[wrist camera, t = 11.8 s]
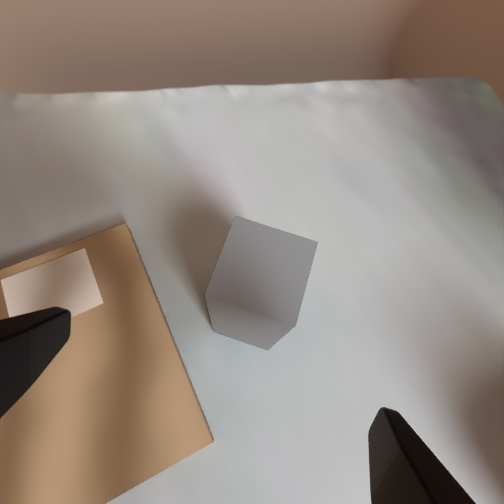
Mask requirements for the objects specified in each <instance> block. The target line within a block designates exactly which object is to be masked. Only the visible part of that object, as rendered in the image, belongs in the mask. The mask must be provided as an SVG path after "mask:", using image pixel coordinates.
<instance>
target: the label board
mask: <svg viewBox="0 0 504 504" xmlns="http://www.w3.org/2000/svg"><path fill="white" fill-rule="evenodd" d="M55 306H57V307H61V308H64V309H68V310H69V311H70V312H71V333H70V337H69V340H68V341H67V343H66V344H65V345H64V347H63V348H62V349H61V350H60V351H59V353H58V354H57V355H56V356H55V358H54V359H53V360H52V361H51V363H50V364H49V365H48V366H47V368H46V369H45V370H44V371H43V373H42V374H41V375H40V376H39V378H38V379H37V380H36V381H35V383H34V384H33V385H32V386H31V387H30V388H29V389H28V390H27V392H26V393H25V394H24V395H23V396H22V397H21V398H20V399H19V400H18V401H17V402H16V403H15V404H14V405H13V406H12V407H11V408H10V409H9V410H8V411H7V412H6V413H5V414H4V415H3V416H2V418H1V419H0V504H105V503H107V502H109V501H111V500H112V499H114V498H116V497H118V496H119V495H121V494H123V493H125V492H126V491H128V490H130V489H132V488H133V487H135V486H137V485H139V484H140V483H142V482H144V481H146V480H147V479H149V478H151V477H153V476H154V475H156V474H158V473H160V472H161V471H163V470H165V469H167V468H168V467H170V466H172V465H174V464H175V463H177V462H179V461H181V460H182V459H184V458H186V457H188V456H190V455H191V454H193V453H195V452H197V451H198V450H200V449H202V448H204V447H205V446H207V445H209V444H211V443H212V442H213V440H214V438H213V436H212V433H211V431H210V428H209V426H208V423H207V421H206V418H205V416H204V413H203V411H202V408H201V406H200V403H199V401H198V398H197V396H196V393H195V391H194V388H193V386H192V383H191V381H190V378H189V376H188V373H187V371H186V368H185V366H184V363H183V361H182V358H181V356H180V353H179V351H178V348H177V346H176V343H175V341H174V338H173V336H172V334H171V331H170V329H169V326H168V324H167V321H166V319H165V316H164V314H163V311H162V309H161V306H160V304H159V301H158V299H157V296H156V294H155V291H154V289H153V286H152V284H151V281H150V279H149V276H148V274H147V271H146V269H145V266H144V264H143V261H142V259H141V256H140V254H139V251H138V249H137V246H136V244H135V241H134V239H133V236H132V234H131V231H130V229H129V228H128V226H127V225H126V223H124V224H121V225H118V226H116V227H113V228H110V229H108V230H105V231H102V232H100V233H97V234H94V235H92V236H89V237H87V238H84V239H81V240H79V241H76V242H73V243H71V244H68V245H65V246H63V247H60V248H57V249H55V250H52V251H49V252H47V253H44V254H41V255H39V256H36V257H33V258H31V259H28V260H25V261H23V262H20V263H17V264H15V265H12V266H9V267H7V268H4V269H1V270H0V320H1V319H5V318H9V317H13V316H17V315H21V314H26V313H30V312H34V311H38V310H42V309H46V308H50V307H55Z"/></svg>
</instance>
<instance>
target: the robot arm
mask: <svg viewBox="0 0 504 504" xmlns="http://www.w3.org/2000/svg"><path fill="white" fill-rule="evenodd" d="M70 333H71V312H70V311H69V310H68V309H64V308H61V307H57V306H55V307H50V308H46V309H42V310H38V311H34V312H30V313H26V314H21V315H17V316H13V317H9V318H5V319H1V320H0V419H1V418H2V416H3V415H4V414H5V413H6V412H7V411H8V410H9V409H10V408H11V407H12V406H13V405H14V404H15V403H16V402H17V401H18V400H19V399H20V398H21V397H22V396H23V395H24V394H25V393H26V392H27V390H28V389H29V388H30V387H31V386H32V385H33V384H34V383H35V381H36V380H37V379H38V378H39V376H40V375H41V374H42V373H43V371H44V370H45V369H46V368H47V366H48V365H49V364H50V363H51V361H52V360H53V359H54V358H55V356H56V355H57V354H58V353H59V351H60V350H61V349H62V348H63V347H64V345H65V344H66V343H67V341H68V340H69V337H70ZM368 442H369V467H370V490H371V502H372V504H476V503H475V502H474V501H473V500H472V499H471V497H470V496H469V495H468V494H467V493H466V491H465V490H464V489H463V488H462V487H461V486H460V484H459V483H458V482H457V481H456V480H455V478H454V477H453V476H452V475H451V474H450V473H449V471H448V470H447V469H446V468H445V467H444V465H443V464H442V463H441V462H440V461H439V460H438V458H437V457H436V456H435V455H434V454H433V452H432V451H431V450H430V449H429V448H428V447H427V445H426V444H425V443H424V442H423V441H422V439H421V438H420V437H419V436H418V435H417V434H416V432H415V431H414V430H413V429H412V428H411V426H410V425H409V424H408V423H407V422H406V421H405V419H404V418H403V417H402V416H401V415H400V414H399V412H397V411H395V410H392V409H389V408H385V407H382V408H380V410H379V411H378V413H377V415H376V417H375V419H374V421H373V423H372V425H371V427H370V429H369V434H368Z"/></svg>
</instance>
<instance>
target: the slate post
mask: <svg viewBox="0 0 504 504" xmlns="http://www.w3.org/2000/svg"><path fill="white" fill-rule="evenodd" d="M317 243H318V242H316V241H313V240H310V239H307V238H304V237H301V236H297V235H294V234H291V233H288V232H285V231H282V230H279V229H276V228H272V227H269V226H266V225H263V224H260V223H257V222H254V221H251V220H247V219H244V218H241V217H238V216H235V218H234V220H233V223H232V226H231V228H230V231H229V233H228V236H227V238H226V241H225V243H224V246H223V248H222V251H221V253H220V256H219V258H218V261H217V264H216V266H215V269H214V271H213V274H212V276H211V279H210V281H209V284H208V286H207V289H206V291H205V294H204V296H205V300H206V304H207V308H208V312H209V316H210V319H211V323H212V327H213V331H214V332H216V333H218V334H221V335H224V336H227V337H230V338H233V339H236V340H239V341H242V342H245V343H248V344H251V345H253V346H256V347H259V348H262V349H265V350H269V349H270V348H271V347H272V346H273V345H274V344H276V343H277V342H278V341H279V340H280V339H281V338H282V337H283V336H285V335H286V334H287V333H288V332H289V331H290V330H291V329H292V328H293V327H295V326H296V322H297V319H298V315H299V311H300V307H301V304H302V300H303V296H304V292H305V289H306V285H307V281H308V277H309V273H310V270H311V266H312V262H313V258H314V255H315V251H316V247H317Z"/></svg>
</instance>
